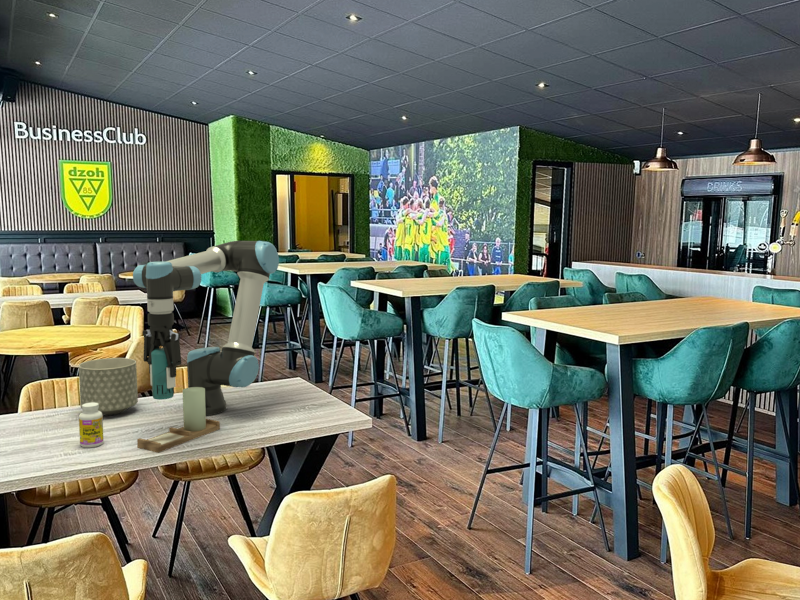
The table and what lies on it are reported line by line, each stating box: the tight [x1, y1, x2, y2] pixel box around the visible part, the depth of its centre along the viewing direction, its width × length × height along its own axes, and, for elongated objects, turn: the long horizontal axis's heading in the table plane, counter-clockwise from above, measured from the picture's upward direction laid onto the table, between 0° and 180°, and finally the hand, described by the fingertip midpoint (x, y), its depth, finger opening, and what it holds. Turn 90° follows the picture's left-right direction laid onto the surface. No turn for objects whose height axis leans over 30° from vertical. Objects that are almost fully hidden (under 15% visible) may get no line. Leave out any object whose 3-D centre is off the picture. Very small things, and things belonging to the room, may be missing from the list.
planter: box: [78, 357, 139, 416], centre depth 236 cm, size 19×19×18 cm
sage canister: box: [182, 387, 207, 432], centre depth 214 cm, size 7×7×13 cm
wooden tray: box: [136, 418, 221, 453], centre depth 209 cm, size 9×26×3 cm, turn 152°
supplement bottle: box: [78, 402, 104, 448], centre depth 202 cm, size 7×7×13 cm
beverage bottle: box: [151, 339, 175, 401], centre depth 201 cm, size 6×7×20 cm
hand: (163, 385), depth 202 cm, fingers closed on beverage bottle, 6 cm apart
